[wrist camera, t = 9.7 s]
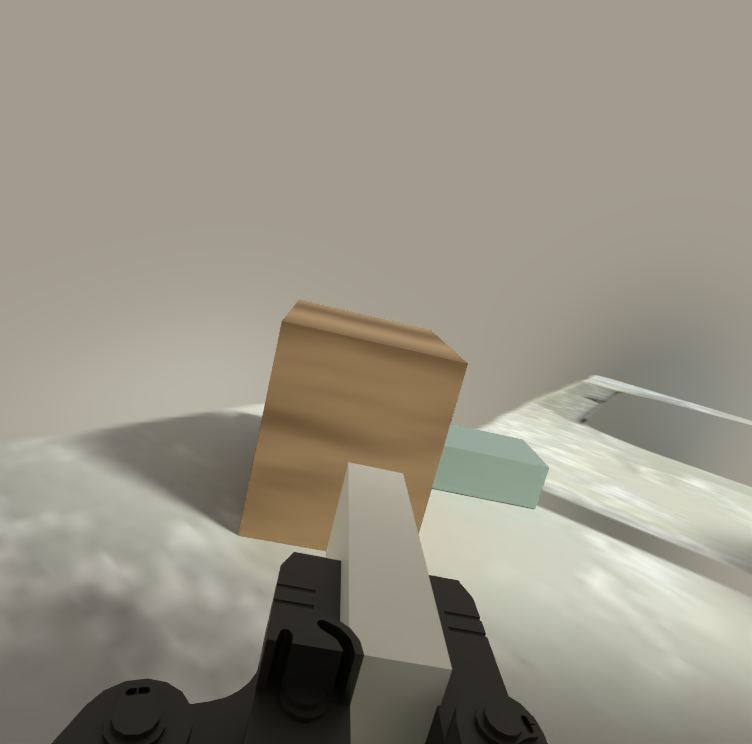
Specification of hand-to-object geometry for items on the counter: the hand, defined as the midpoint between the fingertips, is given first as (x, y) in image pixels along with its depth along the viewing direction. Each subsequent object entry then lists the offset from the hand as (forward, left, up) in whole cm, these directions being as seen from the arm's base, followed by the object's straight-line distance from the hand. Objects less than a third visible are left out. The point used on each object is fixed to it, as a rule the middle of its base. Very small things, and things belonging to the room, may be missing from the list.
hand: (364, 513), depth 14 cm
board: (-13, -16, -7) cm, 22 cm away
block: (-6, -12, -7) cm, 15 cm away
